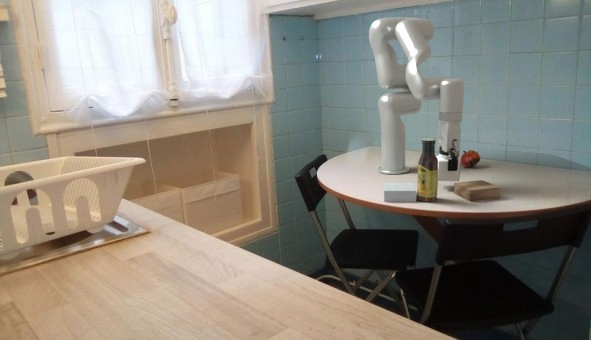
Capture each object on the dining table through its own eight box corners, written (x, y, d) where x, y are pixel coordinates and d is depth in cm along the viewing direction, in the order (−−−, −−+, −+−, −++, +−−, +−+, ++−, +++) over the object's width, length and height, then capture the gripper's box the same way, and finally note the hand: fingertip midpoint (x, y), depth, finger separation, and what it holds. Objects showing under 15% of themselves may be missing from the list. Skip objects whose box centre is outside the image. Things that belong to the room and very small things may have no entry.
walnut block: (454, 194, 157) (454, 183, 157) (481, 191, 159) (482, 180, 158) (470, 202, 148) (470, 190, 147) (499, 199, 149) (499, 187, 149)
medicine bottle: (459, 181, 160) (461, 146, 156) (437, 181, 161) (439, 146, 157) (456, 175, 166) (458, 142, 163) (435, 174, 167) (436, 141, 164)
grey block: (384, 194, 162) (384, 182, 162) (414, 194, 161) (414, 182, 160) (384, 202, 153) (384, 190, 152) (416, 202, 151) (416, 190, 150)
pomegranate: (482, 172, 191) (471, 154, 197) (487, 161, 186) (475, 142, 192) (465, 176, 190) (454, 158, 196) (470, 164, 185) (458, 146, 191)
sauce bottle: (414, 197, 155) (414, 137, 151) (433, 196, 156) (433, 136, 151) (421, 203, 149) (421, 141, 144) (440, 201, 149) (441, 139, 145)
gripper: (431, 113, 166) (429, 161, 171) (448, 121, 149) (445, 174, 154) (452, 112, 166) (449, 160, 171) (472, 120, 150) (468, 173, 154)
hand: (447, 167), depth 162 cm, fingers closed on medicine bottle, 8 cm apart
